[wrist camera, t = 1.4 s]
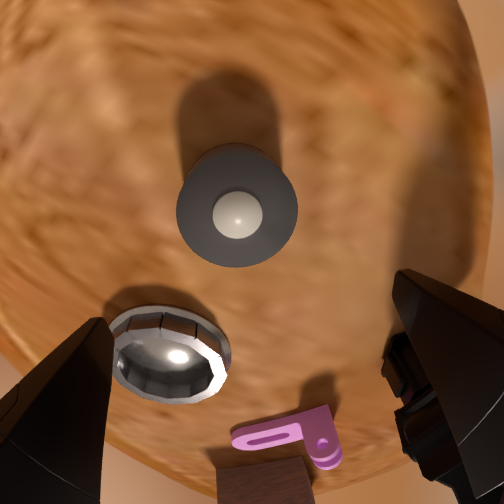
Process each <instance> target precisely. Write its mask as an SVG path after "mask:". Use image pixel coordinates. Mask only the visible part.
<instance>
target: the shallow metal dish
mask: <svg viewBox="0 0 504 504" xmlns="http://www.w3.org/2000/svg"><path fill="white" fill-rule="evenodd" d="M109 328H110V330H111V332H112V334H113V336H114V339H115V347H114V359H113V373H112V375H113V376H114V377H115V379H116V380H117V382H118V383H120V385H122V386H123V387H125V388H127V389H128V390H130V391H131V392H133V393H135V394H136V395H138V396H140V397H142V398H145V399H149V400H153V401H156V402H161V403H165V404H168V403H169V404H187V403H195V402H196V403H197V402H199V401H201V400H203V399H206V398H208V397H210V396H212V395H214V394H216V393H217V392H218V391H219V389H220V387H221V386H222V384H223V382H224V381H225V379H226V377H227V371H228V369H229V367H230V363H231V349H230V345H229V342H228V340H227V339H226V337H225V335H224V334H223V333H222V331H221V330H220V329H219V328H218V327H217V326H216V325H215V324H213V323H212V322H211V321H209V320H208V319H206V318H204V317H203V316H201V315H199V314H197V313H195V312H192V311H190V310H187V309H184V308H180V307H176V306H171V305H163V304H149V305H141V306H136V307H133V308H130V309H128V310H126V311H123V312H122V313H120V314H119V315H117V316H116V317H115V318H114V319H113V321H112V322H111V323H110V325H109Z"/></svg>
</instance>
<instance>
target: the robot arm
mask: <svg viewBox="0 0 504 504" xmlns="http://www.w3.org/2000/svg"><path fill="white" fill-rule="evenodd" d="M392 298H393V301H394V303H395V306H396V308H397V311H398V313H399V315H400V318H401V320H402V323H403V325H404V328H405V330H406V332H405V333H402V334H398V335H395V336H394V337H392V339H391V341H390V345H389V349H388V352H387V355H386V358H385V362H384V365H383V369H382V373H381V374H382V377H386V379H387V381H388V383H389V385H390V387H391V389H392V391H393V393H394V395H395V397H396V398H399V397H400V398H401V400H402V402H403V404H404V406H403V407H402V408H400V409H397V410H396V411H394V414H395V417H396V418H395V421H396V424H397V428H398V432H399V435H400V439H401V443H402V451H403V453H404V454H407V455H409V457H410V458H411V459H412V460H413V461H414V462H418V464H419V467H420V470H421V472H422V475H423V476H424V477H425V478H426V479H428V480H429V481H434V480H435V481H438V482H440V483H442V484H444V485H446V486H448V487H450V488H452V490H453V492H454V494H455V496H456V499H457V501H458V504H504V311H503V310H501V309H498V308H497V307H495V306H492V305H490V304H488V303H486V302H484V301H482V300H479V299H477V298H475V297H473V296H471V295H468V294H466V293H464V292H462V291H459V290H457V289H455V288H453V287H450V286H448V285H446V284H444V283H441V282H439V281H437V280H434V279H432V278H430V277H427V276H425V275H423V274H420V273H418V272H416V271H413V270H411V269H402V270H398V271H397V272H396V273H395V278H394V284H393V290H392ZM114 347H115V339H114V336H113V334H112V332H111V330H110V328H109V326H108V325H107V323H106V321H105V319H104V318H103V317H93V318H90V319H89V320H88V321H87V322H85V323H84V324H83V325H82V326H81V327H80V328H78V329H77V330H76V331H75V332H74V333H73V334H71V335H70V336H69V337H68V338H67V339H66V340H65V341H63V342H62V343H61V344H60V345H59V346H58V347H57V348H56V349H54V350H53V351H52V352H51V353H50V354H49V355H48V356H47V357H45V358H44V359H43V360H42V361H41V362H40V363H39V364H38V365H37V366H36V367H35V368H33V369H32V370H31V371H30V372H29V373H28V374H27V375H26V376H25V377H24V378H23V379H22V380H21V381H20V382H19V383H17V384H16V385H15V386H14V387H13V388H12V389H11V390H10V391H9V392H8V393H7V394H6V395H5V396H3V398H1V399H0V504H100V488H101V470H102V457H103V446H104V437H105V428H106V420H107V412H108V405H109V398H110V392H111V385H112V373H113V359H114Z"/></svg>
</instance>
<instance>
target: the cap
mask: <svg viewBox="0 0 504 504" xmlns="http://www.w3.org/2000/svg"><path fill="white" fill-rule="evenodd" d="M297 215H298V204H297V198H296V194H295V191H294V189H293V187H292V184H291V183H290V181H289V180H288V178H287V177H286V176H285V174H284V173H283V172H282V171H281V170H280V168H279V167H278V166H277V165H276V164H275V163H274V161H273V160H272V159H271V158H270V157H269V156H268V155H267V154H266V153H264V152H263V151H261V150H260V149H258V148H255V147H253V146H250V145H247V144H241V143H229V144H224V145H220V146H217V147H214V148H212V149H210V150H208V151H207V152H206V153H204V154H203V155H202V156H201V157H200V158H198V160H197V161H196V162H195V163H194V165H193V166H192V168H191V169H190V172H189V174H188V176H187V178H186V180H185V182H184V184H183V186H182V189H181V191H180V193H179V197H178V200H177V207H176V218H177V224H178V227H179V230H180V233H181V235H182V237H183V239H184V240H185V242H186V243H187V245H188V246H189V247H190V248H191V249H192V250H193V251H194V252H195V253H196V254H197V255H199V256H200V257H202V258H203V259H205V260H207V261H209V262H211V263H214V264H216V265H220V266H224V267H247V266H252V265H255V264H258V263H261V262H263V261H265V260H267V259H269V258H270V257H272V256H273V255H275V254H276V253H277V252H278V251H279V250H280V249H281V248H282V247H283V246H284V245H285V244H286V243H287V241H288V240H289V238H290V237H291V235H292V233H293V230H294V228H295V225H296V221H297Z"/></svg>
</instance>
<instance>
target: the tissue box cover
mask: <svg viewBox="0 0 504 504" xmlns="http://www.w3.org/2000/svg"><path fill="white" fill-rule="evenodd" d="M216 483H217V501H218V504H315V500H314V496H313V491H312V486H311V483H310V480H309V477H308V473H307V470H306V467H305V463H304V460H303V457H302V456H298V457H293V458H289V459H284V460H278V461H273V462H267V463H261V464H255V465H248V466H240V467H232V468H222V469H216Z"/></svg>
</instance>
